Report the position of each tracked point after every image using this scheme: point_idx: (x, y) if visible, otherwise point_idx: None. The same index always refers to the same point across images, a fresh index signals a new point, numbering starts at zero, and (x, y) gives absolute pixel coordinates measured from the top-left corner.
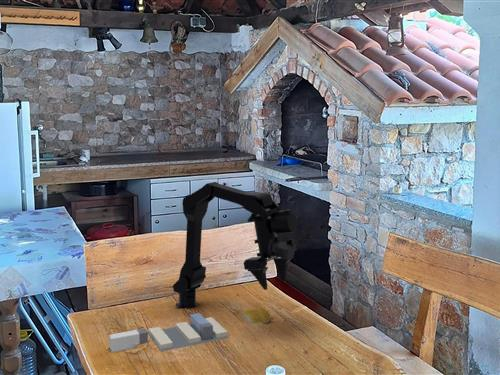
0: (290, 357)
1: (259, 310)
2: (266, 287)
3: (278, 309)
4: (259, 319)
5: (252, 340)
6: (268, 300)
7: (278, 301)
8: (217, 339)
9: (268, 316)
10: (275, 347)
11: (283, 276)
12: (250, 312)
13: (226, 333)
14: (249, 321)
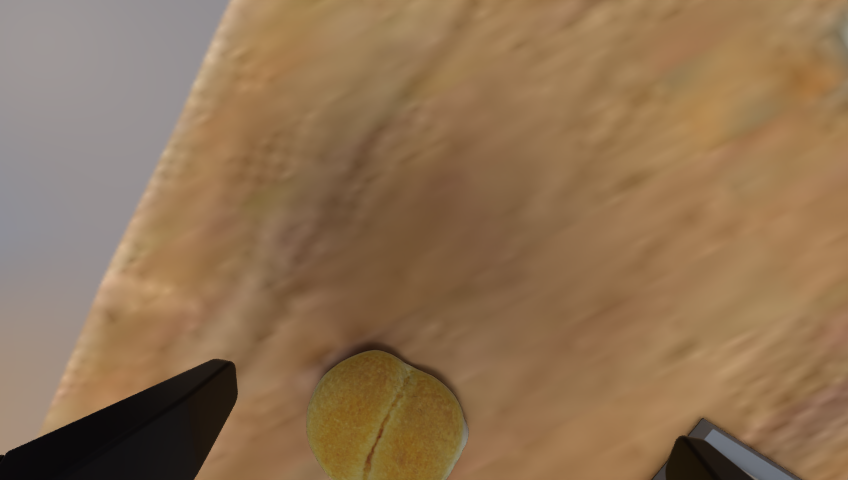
0: (724, 24)
1: (366, 436)
2: (720, 459)
3: None
4: (430, 390)
5: (631, 315)
6: None
7: None
8: (773, 473)
9: (367, 365)
10: (647, 163)
11: (190, 413)
12: (428, 467)
13: None
14: (466, 431)
